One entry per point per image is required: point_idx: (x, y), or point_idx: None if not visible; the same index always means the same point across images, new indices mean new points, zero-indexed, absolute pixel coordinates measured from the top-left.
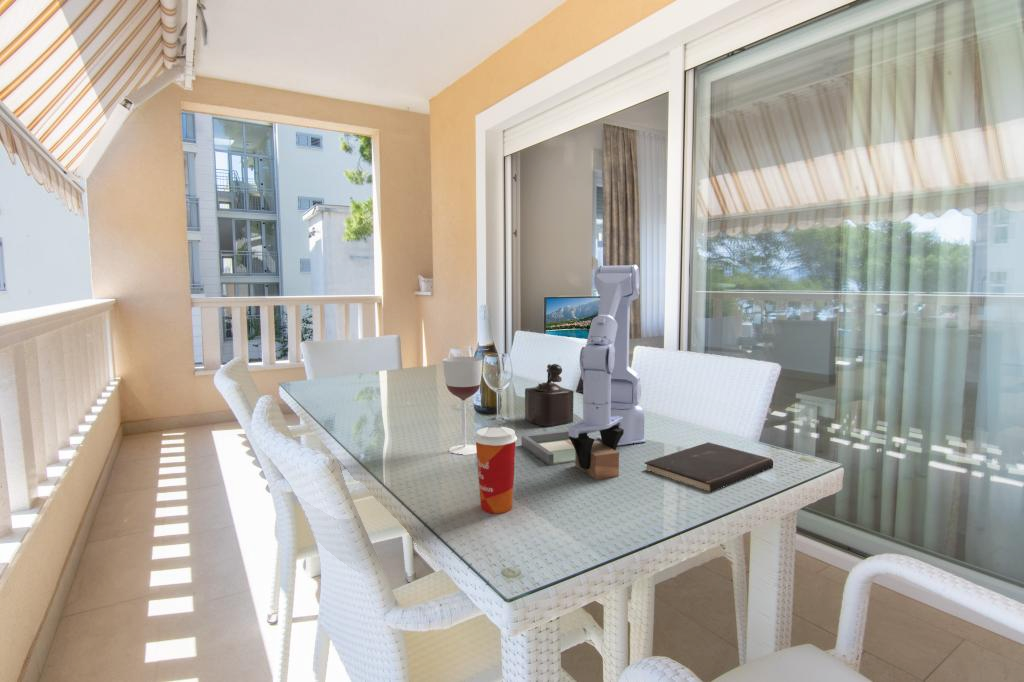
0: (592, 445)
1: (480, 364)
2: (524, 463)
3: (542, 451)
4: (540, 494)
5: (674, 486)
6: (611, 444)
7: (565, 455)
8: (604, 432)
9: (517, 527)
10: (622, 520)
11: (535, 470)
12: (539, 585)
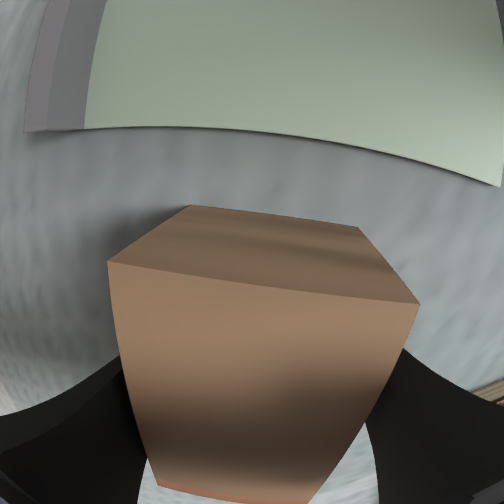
0: (248, 400)
1: None
2: (13, 74)
3: (42, 41)
4: (14, 362)
5: (368, 486)
6: (380, 460)
7: (224, 22)
8: (414, 501)
9: (2, 411)
10: (146, 497)
11: (11, 178)
12: None
